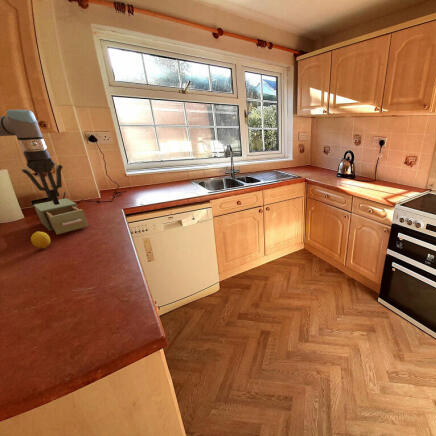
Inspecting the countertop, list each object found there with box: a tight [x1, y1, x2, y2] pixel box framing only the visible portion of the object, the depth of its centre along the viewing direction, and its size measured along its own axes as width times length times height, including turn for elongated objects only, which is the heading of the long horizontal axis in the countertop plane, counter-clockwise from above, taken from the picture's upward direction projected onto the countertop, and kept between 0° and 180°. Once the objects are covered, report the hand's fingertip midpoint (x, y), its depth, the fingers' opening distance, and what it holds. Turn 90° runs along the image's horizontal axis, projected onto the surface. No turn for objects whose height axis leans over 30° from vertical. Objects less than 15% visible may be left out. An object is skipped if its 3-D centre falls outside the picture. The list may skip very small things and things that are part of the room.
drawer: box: [44, 206, 89, 235], centre depth 121 cm, size 22×12×9 cm, turn 54°
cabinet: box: [33, 197, 79, 231], centre depth 129 cm, size 18×14×11 cm
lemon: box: [30, 230, 51, 249], centre depth 102 cm, size 6×6×8 cm
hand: (56, 204), depth 110 cm, fingers closed
